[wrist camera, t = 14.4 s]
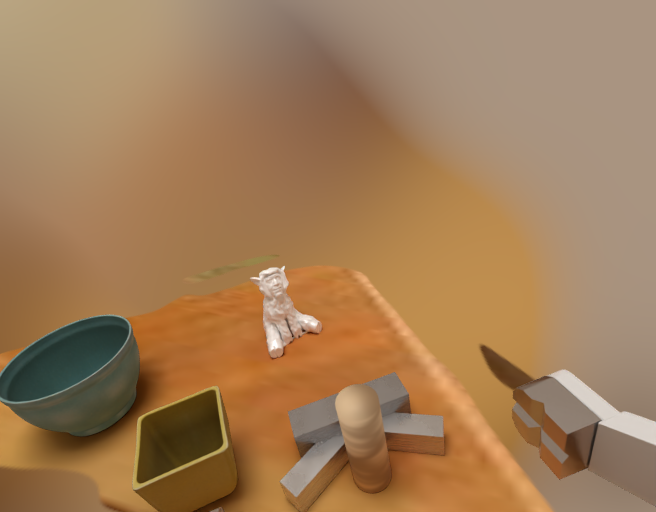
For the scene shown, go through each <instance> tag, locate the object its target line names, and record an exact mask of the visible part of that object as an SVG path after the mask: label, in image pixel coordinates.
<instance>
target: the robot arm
mask: <svg viewBox="0 0 656 512" xmlns="http://www.w3.org/2000/svg"><path fill="white" fill-rule="evenodd" d="M513 399H514V400H515V401H516V402H517V403H516V404H515V406H514V407H513V409H512V418H513V421H514V424H515V426H516V428H517V430H518V431H519V433H520V434H521V436H522V437H523V438H524V439H525V441H526V442H527V443H529V444H531V445H533V446H536V447H538V448H539V453H540V458H541V459H542V460H543V461H544V462H545V464H546V465H547V466H548V467H549V468H550V469H551V470H552V472H553V473H554V474H555V475H556V476H557V477H558V478H559V480H560V479H562V478H565V477H567V476H570V475H572V474H575V473H577V472H579V471H582V470H584V469H586V468H588V470H589V471H591V472H593V473H595V474H597V475H598V476H600V477H602V478H604V479H606V480H607V481H609V482H611V483H613V484H615V485H617V486H618V487H620V488H622V489H624V490H626V491H628V492H629V493H631V494H633V495H635V496H637V497H639V498H641V499H642V500H644V501H646V502H648V503H650V504H652V505H654V506H655V507H656V422H655V421H652V420H649V419H646V418H643V417H641V416H638V415H635V414H632V413H629V412H626V411H624V412H621V413H620V412H619V411H617V410H616V409H615V408H614V407H612V406H611V405H610V404H609V403H607V402H606V401H605V400H604V399H603V398H601V397H600V396H599V395H598V394H596V393H595V392H594V391H593V390H592V389H590V388H589V387H588V386H587V385H585V384H584V383H583V382H582V381H580V380H579V379H578V378H577V377H576V376H574V375H573V374H572V373H571V372H569V371H567V370H559V371H557V372H554V373H552V374H550V375H548V376H544V377H541V378H539V379H536V380H534V381H532V382H529V383H527V384H525V385H522V386H520V387H518V388H516V389H515V390H514V391H513ZM209 512H224V510H223V508H222V507H219V508H216V509H214V510H211V511H209Z"/></svg>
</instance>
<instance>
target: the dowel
mask: <svg viewBox="0 0 656 512" xmlns="http://www.w3.org/2000/svg"><path fill="white" fill-rule="evenodd" d="M335 407H336V411H337V415H338V419H339V423H340V427H341V431H342V435H343V439H344V442H345V446H346V450H347V454H348V458H349V462H350V466H351V470H352V474H353V478H354V481H355V483H356V485H357V486H358V488H360V489H361V490H362V491H364V492H367V493H378V492H380V491H382V490H384V489H385V488H386V487H387V486H388V484H389V483H390V480H391V476H392V473H391V466H390V461H389V455H388V449H387V443H386V438H385V432H384V426H383V420H382V415H381V409H380V403H379V398H378V395H377V393H376V391H375V390H374V389H373V388H371V387H369V386H367V385H363V384H355V385H351V386H348V387H346V388H344V389H343V390H342V391H341V392H340V393H339V394H338V395H337V397H336V401H335Z"/></svg>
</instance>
